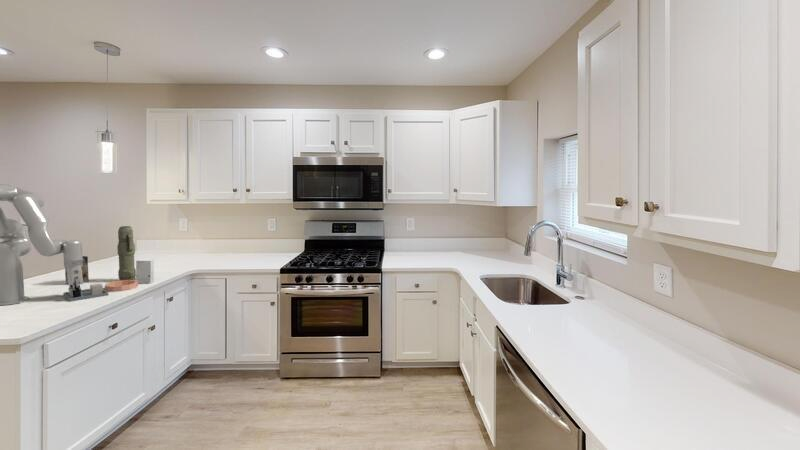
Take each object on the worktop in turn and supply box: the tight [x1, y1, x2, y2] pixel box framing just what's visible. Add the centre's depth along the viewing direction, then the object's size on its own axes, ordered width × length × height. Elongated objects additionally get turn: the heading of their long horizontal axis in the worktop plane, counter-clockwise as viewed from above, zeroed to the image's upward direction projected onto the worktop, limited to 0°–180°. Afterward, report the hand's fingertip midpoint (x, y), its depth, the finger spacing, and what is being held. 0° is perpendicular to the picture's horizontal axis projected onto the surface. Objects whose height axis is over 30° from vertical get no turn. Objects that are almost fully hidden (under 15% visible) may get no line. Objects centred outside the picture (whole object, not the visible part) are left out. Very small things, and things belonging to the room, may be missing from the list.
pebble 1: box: [67, 286, 82, 298], centre depth 194 cm, size 4×4×5 cm
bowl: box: [104, 280, 139, 293], centre depth 213 cm, size 15×15×4 cm
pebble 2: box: [89, 283, 104, 295], centre depth 201 cm, size 4×4×5 cm
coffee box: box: [64, 255, 90, 285], centre depth 223 cm, size 9×6×16 cm
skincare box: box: [135, 258, 155, 285], centre depth 228 cm, size 8×6×15 cm
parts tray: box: [63, 288, 109, 302], centre depth 198 cm, size 16×16×2 cm
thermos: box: [116, 225, 136, 281], centre depth 231 cm, size 9×12×35 cm
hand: (75, 295), depth 194 cm, fingers open, 7 cm apart
